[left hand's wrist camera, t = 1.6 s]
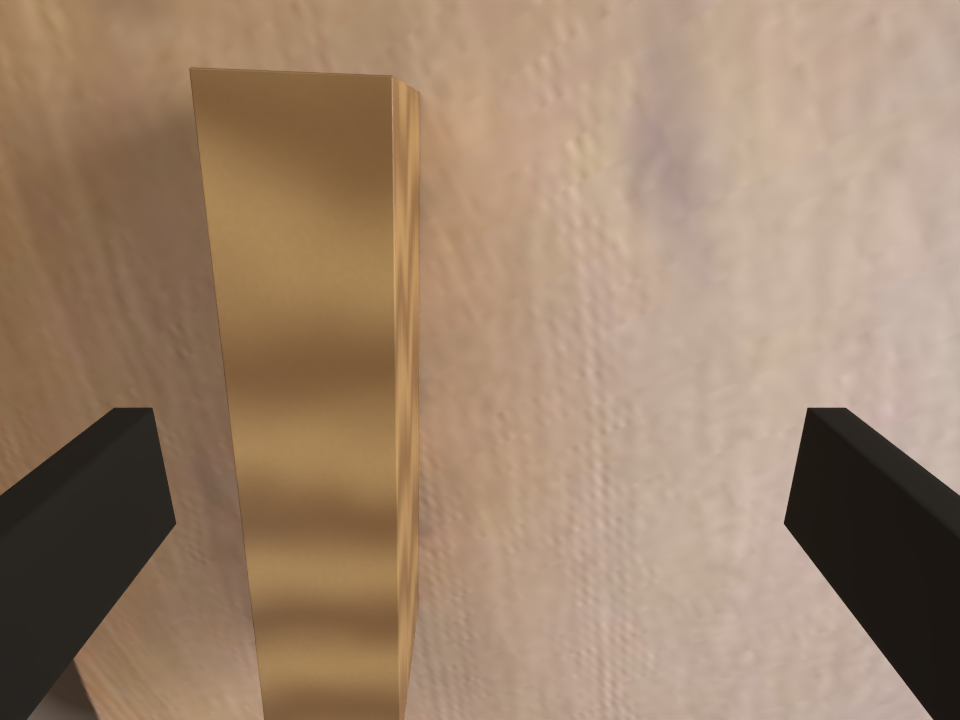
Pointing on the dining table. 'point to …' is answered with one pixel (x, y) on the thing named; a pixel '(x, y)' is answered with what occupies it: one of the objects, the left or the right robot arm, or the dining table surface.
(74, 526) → the left robot arm
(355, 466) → the box
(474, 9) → the dining table surface
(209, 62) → the dining table surface
